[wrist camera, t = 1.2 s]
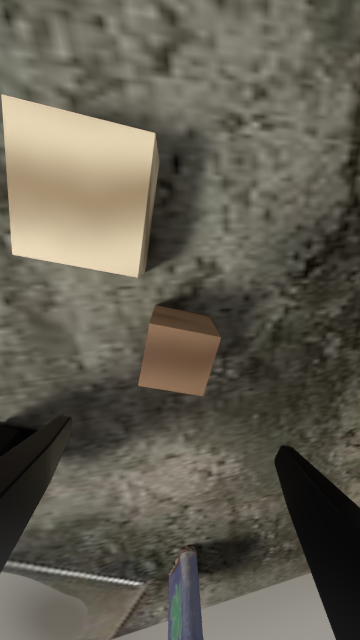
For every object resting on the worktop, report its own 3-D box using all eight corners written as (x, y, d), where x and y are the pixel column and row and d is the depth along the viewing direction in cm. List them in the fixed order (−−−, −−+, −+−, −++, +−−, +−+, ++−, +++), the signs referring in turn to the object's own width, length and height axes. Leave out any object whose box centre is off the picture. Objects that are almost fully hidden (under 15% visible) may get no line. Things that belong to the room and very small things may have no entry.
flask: (182, 543, 30) (188, 696, 20) (201, 546, 30) (217, 696, 20) (166, 577, 32) (163, 726, 22) (183, 579, 33) (189, 725, 23)
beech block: (145, 272, 17) (137, 277, 14) (48, 253, 17) (12, 254, 13) (159, 163, 15) (155, 133, 11) (47, 136, 14) (1, 94, 10)
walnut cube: (195, 362, 20) (203, 396, 15) (146, 353, 20) (137, 385, 15) (208, 315, 19) (221, 337, 14) (155, 304, 18) (149, 323, 13)
